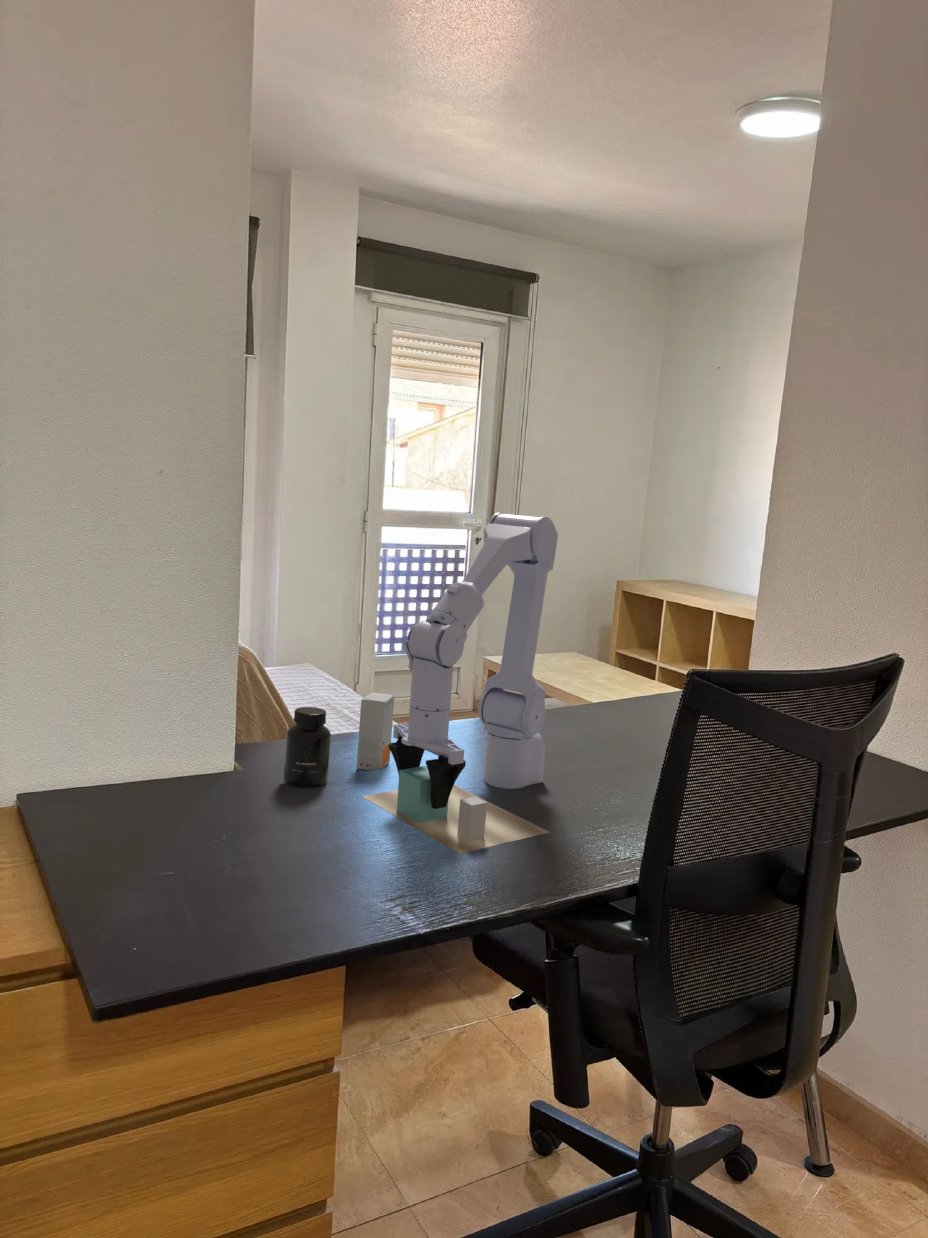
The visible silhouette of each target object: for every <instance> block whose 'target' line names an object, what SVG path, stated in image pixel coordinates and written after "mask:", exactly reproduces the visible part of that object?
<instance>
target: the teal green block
mask: <svg viewBox="0 0 928 1238" xmlns="http://www.w3.org/2000/svg"><path fill="white" fill-rule="evenodd" d="M397 790H398V799H397V811H398V812H400V813H401V814H403V815H405V816H407V817H408V818H410V819H412V820H414V821H416V822H417V823H419V822H424V821H428V820H433V819H438V818H443V817H447V812H448V802H447V805H446V807H444V808H439V809H434V808H432V805H431V782H430V776H429V771H428V768H427V765H423V766H421V765H420V767H415V768H409V769H403V770H399V775H398V785H397Z"/></svg>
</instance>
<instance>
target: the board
mask: <svg viewBox="0 0 928 1238" xmlns="http://www.w3.org/2000/svg"><path fill="white" fill-rule="evenodd" d="M361 797H362V798H364V799H365V800H367V801H369V802H370V803H371V804H373V805H375V806H377V807H379V808H380V809H382V810H384V811H385V812H388V813H389V814H391V815H393V816H394V817H396V818H397V819H399V820H401V821H402V822H404V823H406V824H408V825H409V826H411V827H413V828H414V829H416V830H418V831H420V832H421V833H422V834H424V835H426V836H428V837H430V838H431V839H433V840H435V841H436V842H438V843H441V844H442V845H443V846H446V847H447V848H449V849H451V850H452V851H454V852H456V853H457V854H459V855H461V854H466V853H469V852H470V853H471V852H474V851H479V850H483V849H487V848H491V847H494V846H499V845H503V844H507V843H511V842H516V841H520V840H525V839H528V838H534V837H536V836H540V835H546V834H549V833H550V831H548V830H546V829H544V828H542V827H541V826H538V825H536V824H535V823H532V822H530V821H528V820H526V819H525V818H522V817H520V816H518V815H516V814H515V813H512V812H510V811H508V810H505V809H504V808H501V807H499V806H498V805H495V804H494V803H492V802H490V801H488V800H485V799H483V798H481V797H480V796H477V795H475V794H473V793H471V792H470V791H467V790H465V789H463V788H461V787H460V786H458V785H456V784H454V786H453V788H452V791H451V793H450V796H449V799H448V812H447V817H443V818H438V819H433V820H428V821H424V822H419V823H417V822H416V821H414V820H412V819H410V818H408V817H407V816H405V815H403V814H401V813H400V812H398V811H397V799H398V789H395V790H391V791H389V790H388V791H384V792H379V793H373V794H366V795H362V796H361ZM470 797H477V798H479V799H481V800H483V801H485V802H487V809H486V822H485V834H484V838H481V839H477V840H472V841H468V840H466V839H464V838H462V837H461V836H459V835H457V833H458V820H459V807H460V799H465V798H470Z"/></svg>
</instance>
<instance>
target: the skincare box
mask: <svg viewBox="0 0 928 1238" xmlns="http://www.w3.org/2000/svg"><path fill="white" fill-rule="evenodd" d="M360 700H361V702H360V714H359V727H358V729H359V731H358V742H357V743H358V744H357V757H356V769H357V770H366V771H376V770H382V769H384V767H386V766H387V765H388V764H389V763H390V760H391V751H390V749H389V744H390V743H392V737H393V736H392V735H393V723H394V718H393V717H394V707H395V706H394V705H395V694H388V693H382V692H381V693H380V692H374V691H373V692H371V693H369V694H367V695H366V696H364V697H363V698H362V699H360Z"/></svg>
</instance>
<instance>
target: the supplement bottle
mask: <svg viewBox="0 0 928 1238" xmlns="http://www.w3.org/2000/svg"><path fill="white" fill-rule="evenodd" d="M293 714H294V717H293V723H294V724H292V725H291V726H290V727H289V728H288V729H287V730H286V735H285V748H284V752H285V753H284V766H283V784H284V785H288V786H290V787H295V788H300V789H301V788H302V789H304V788H305V789H306V788H307V789H309V788H311V789H312V788H319V787H322V786H324V785H326V784H327V783H328V779H329V768H330V766H329V765H330V756H331V755H330V753H331V743H332V742H331V740H332V733H331V731H330V730H329V728H328V727H326V726H325V724H326V723H327V721H326V720H327V719H326V718H327V712H326V710H325V709H323V708H320V707H313V706H303V707H297V708H295V709H294V713H293Z"/></svg>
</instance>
